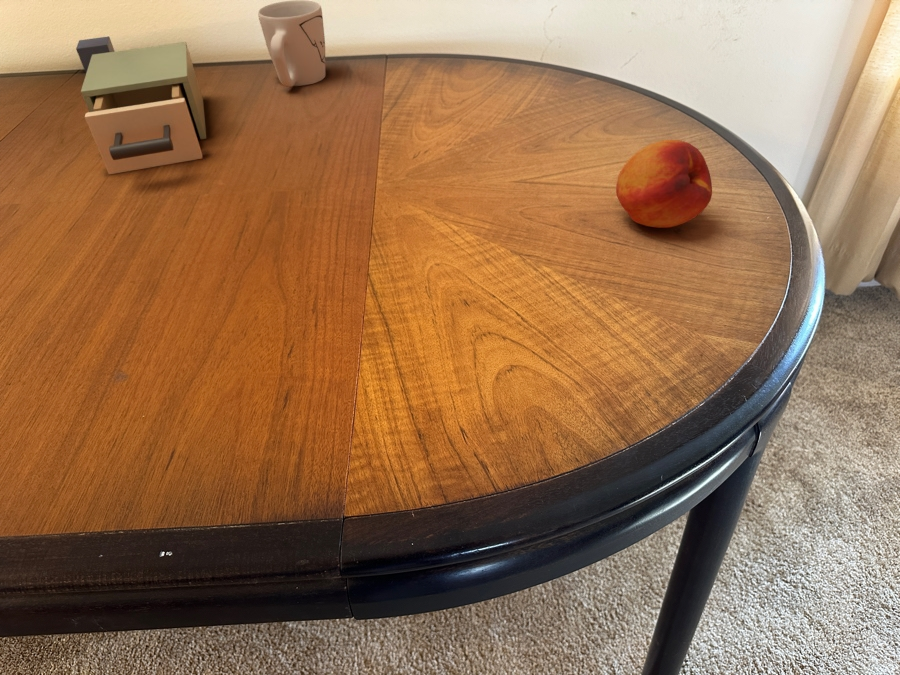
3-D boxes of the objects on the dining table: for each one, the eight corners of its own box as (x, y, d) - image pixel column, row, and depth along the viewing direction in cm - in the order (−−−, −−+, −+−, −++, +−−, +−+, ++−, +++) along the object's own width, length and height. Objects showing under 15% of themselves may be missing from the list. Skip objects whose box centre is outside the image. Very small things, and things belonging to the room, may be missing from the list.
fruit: (648, 254, 58) (663, 172, 53) (595, 213, 64) (604, 135, 58) (716, 231, 60) (738, 150, 55) (660, 193, 66) (674, 117, 61)
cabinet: (208, 145, 79) (187, 75, 74) (110, 162, 77) (80, 91, 72) (205, 105, 89) (186, 41, 84) (117, 119, 87) (91, 54, 81)
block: (87, 78, 100) (75, 48, 97) (90, 69, 103) (78, 40, 100) (118, 74, 100) (107, 44, 98) (119, 65, 104) (109, 36, 101)
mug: (316, 103, 88) (301, 25, 81) (257, 102, 89) (238, 25, 83) (340, 73, 96) (328, -1, 90) (286, 72, 98) (271, 0, 91)
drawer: (204, 178, 71) (184, 119, 67) (105, 196, 69) (78, 136, 65) (199, 118, 84) (183, 65, 79) (116, 131, 82) (95, 77, 77)
